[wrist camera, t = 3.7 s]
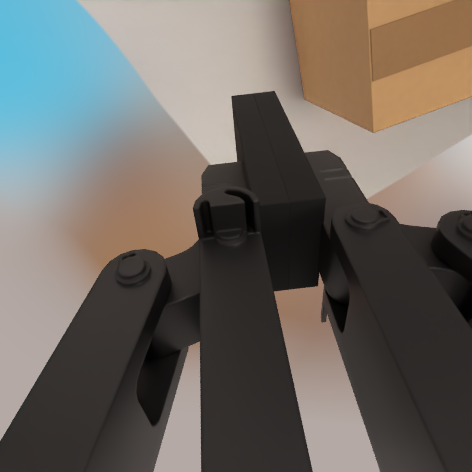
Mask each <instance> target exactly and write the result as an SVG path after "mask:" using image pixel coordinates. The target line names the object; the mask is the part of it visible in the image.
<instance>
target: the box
mask: <svg viewBox="0 0 472 472" xmlns="http://www.w3.org/2000/svg"><path fill="white" fill-rule="evenodd" d="M289 2H290V8H291V15H292V21H293V28H294V34H295V41H296V47H297V53H298V60H299V66H300V73H301V79H302V86H303V92H304V98H305V100H307V101H309V102H311V103H313V104H315V105H317V106H319V107H321V108H323V109H325V110H328V111H330V112H332V113H334V114H336V115H338V116H340V117H342V118H344V119H346V120H348V121H350V122H352V123H354V124H356V125H358V126H361V127H363V128H365V129H367V130H369V131H371V132H373V133H375V132H377V131H380V130H383V129H385V128H388V127H391V126H394V125H396V124H399V123H402V122H404V121H407V120H410V119H413V118H415V117H418V116H421V115H423V114H426V113H429V112H431V111H434V110H437V109H440V108H442V107H445V106H448V105H450V104H453V103H456V102H459V101H461V100H464V99H467V98H469V97H472V0H289Z"/></svg>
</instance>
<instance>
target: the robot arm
mask: <svg viewBox="0 0 472 472" xmlns="http://www.w3.org/2000/svg"><path fill="white" fill-rule="evenodd" d="M231 97H232V108H233V119H234V130H235V141H236V152H237V162H233V163H224V164H215V165H208V167H207V168H206V170H205V171H204V172H203V174H202V195H201V196H200V197H199V198H198V199H197V200H196V201H195V204H194V207H193V212H194V217H195V222H196V227H197V232H198V237H199V240H198V241H197V242H196V243H195V244H194V245H193V246H192V247H190V248H189V249H187V250H186V251H184V252H182V253H179V254H177V255H175V256H172V257H169V258H166V259H164V258H163V256H161V255H160V254H158V253H157V252H155V251H151V250H146V249H142V250H132V251H129V252H126V253H123V254H120V255H119V256H117V257H116V258H114V259H113V260H111V261H110V262H109V263H108V264H107V265H106V266H105V268H104V269H103V270H102V271H101V273H100V275H99V276H98V278H97V280H96V282H95V283H94V285H93V287H92V288H91V290H90V292H89V293H88V295H87V297H86V298H85V300H84V302H83V303H82V305H81V307H80V308H79V310H78V312H77V313H76V315H75V317H74V318H73V320H72V322H71V323H70V325H69V327H68V329H67V330H66V332H65V334H64V335H63V337H62V339H61V340H60V342H59V344H58V345H57V347H56V349H55V351H54V352H53V354H52V355H51V357H50V359H49V360H48V362H47V364H46V365H45V367H44V369H43V370H42V372H41V374H40V375H39V377H38V379H37V381H36V382H35V384H34V386H33V387H32V389H31V391H30V392H29V394H28V396H27V398H26V399H25V401H24V402H23V404H22V406H21V408H20V409H19V411H18V412H17V414H16V416H15V418H14V419H13V421H12V422H11V424H10V426H9V428H8V429H7V431H6V433H5V434H4V436H3V438H2V439H1V441H0V472H153V471H154V467H155V464H156V460H157V457H158V453H159V450H160V446H161V443H162V439H163V436H164V432H165V429H166V425H167V422H168V418H169V415H170V411H171V408H172V404H173V401H174V397H175V394H176V390H177V387H178V383H179V379H180V376H181V373H182V369H183V366H184V362H185V358H186V355H187V352H188V346H190V345H192V344H195V343H197V342H199V341H200V377H201V379H200V383H201V472H313V471H312V467H311V462H310V457H309V453H308V448H307V444H306V439H305V434H304V430H303V425H302V420H301V416H300V412H299V407H298V402H297V397H296V393H295V388H294V383H293V379H292V374H291V369H290V365H289V360H288V355H287V351H286V347H285V342H284V337H283V332H282V328H281V323H280V318H279V314H278V309H277V304H276V300H275V295H274V291H281V290H289V289H297V288H306V287H314V286H318V278H319V272H320V275H321V278H322V281H323V283H324V292H323V301H322V310H321V322H326V317H327V314H328V317H329V320H330V323H331V326H332V329H333V332H334V335H335V338H336V341H337V344H338V347H339V350H340V353H341V356H342V359H343V362H344V365H345V368H346V371H347V374H348V377H349V380H350V383H351V386H352V388H353V392H354V394H355V397H356V401H357V404H358V407H359V410H360V413H361V416H362V418H363V421H364V424H365V427H366V430H367V433H368V436H369V439H370V442H371V445H372V448H373V451H374V454H375V457H376V460H377V463H378V466H379V469H380V472H472V211H467V210H460V211H452V212H449V213H447V214H445V215H443V216H442V217H441V219H440V221H439V222H438V225H437V228H430V227H419V226H409V225H403V224H399V223H398V221H397V220H396V218H395V217H394V216H393V215H392V214H391V213H390V212H389V211H388V210H386V209H384V208H382V207H380V206H378V205H374V204H370V203H369V202H368V201H367V199H366V198H365V196H364V194H363V193H362V191H361V190H360V188H359V187H358V185H357V183H356V182H355V180H354V179H353V178H352V175H351V174H350V172H349V171H348V170H347V169H346V166H345V164H344V163H343V161H342V160H341V158H340V157H338V156H337V155H335V154H333V153H332V152H330V151H328V150H325V151H317V152H308V153H304V151H303V149H302V147H301V145H300V143H299V141H298V139H297V137H296V134H295V132H294V130H293V128H292V126H291V124H290V122H289V120H288V118H287V116H286V114H285V112H284V110H283V108H282V106H281V104H280V101H279V99H278V97H277V95H276V93H275V91H272V92H263V93H254V94H245V95H237V96H231Z"/></svg>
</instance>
